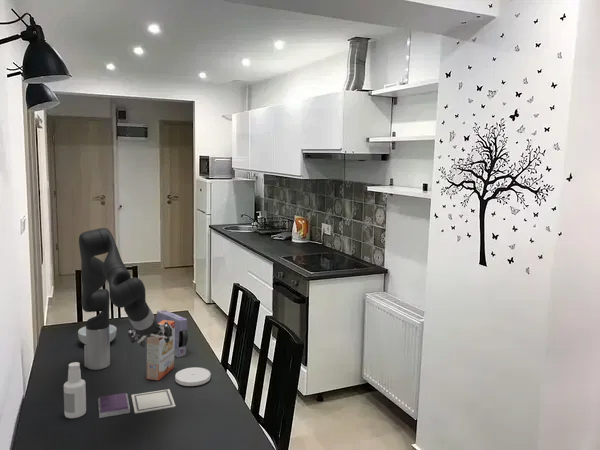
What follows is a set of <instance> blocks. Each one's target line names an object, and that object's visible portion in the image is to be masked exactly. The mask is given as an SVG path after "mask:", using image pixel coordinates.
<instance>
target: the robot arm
mask: <svg viewBox="0 0 600 450" xmlns="http://www.w3.org/2000/svg"><path fill="white" fill-rule="evenodd" d="M78 246H79V252H80V253H79V254H80V260H81V261H80V262H81V263H80V266H81V271H80V273H81V274H80V275H81V276H80V277H81V278H80V279H81V284H82V289H81V307H82V310H83V311H84V312H85V313H92V312H93V313H95V312H99V313H98V314H97V315H95V316H93V317H90V318H88V319H87V320H86V321H85V326H86V344H84V345H83V347H84V348H83V349H84V354H83V356H84V357H83V358H84V367H85V368H87V369H88V370H93V371H95V370H102V369H105V368H108V367H109V366H110V365H111V344H110V343H111V341H110V329H109V325H110V302H111V303H112V304H113V305H114V306H115V307H117V308H121V309H124V312H125V314H126V316H127V317H128V319H129V322H130V324H131V326H132V327H133V329H132V328H128V331H127V336H128V338H129V340H130V343H132V344H135V342H137V343H138V345H139V346H140V347H142V348H145V347H146V342H145V338H146V339H147V338H148V337H154V336H156V337H159V338H160V337H162V338H164V340H165V342H166V343H168V341H170V337H171V336H172V329H171V327H170V326H169V324H168V323H167V322H165V323H164V325H159V324H158V323H157V318H156V317H155V315H154V313H153V311H152V309H151V308H150V306H149V305H148V303H147V301H146V297H147V296H146V295H147V294H146V287H145V285H144V282H143V281H142V280H141V279H140V278H138V277H132V275H131V274H130V271H129V270H128V268H127V267H126V265H125V263H124V262H123V260H122V258H121V255H120V251H119V248H118V246H117V244H116V241H115V238H114V236H113V234H112V232H111V230H109V229H108V228H106V227H99V228H96V229H91V230H87V231H83V232H81V233H80V234H79V236H78ZM105 254H106V257H105V259H104V261H103V260H101V259H100V258H98V257H97V256H101V255H105ZM106 282H108V285H109V289H107V288H102V287H103V286H104V285H105V283H106ZM110 300H111V301H110ZM158 333H159V334H158ZM163 333H164V335H163ZM136 335H137V336H136Z"/></svg>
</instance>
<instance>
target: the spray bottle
mask: <svg viewBox="0 0 600 450" xmlns="http://www.w3.org/2000/svg"><path fill="white" fill-rule="evenodd" d="M80 364H81V363H80V362H77V361H75V362H70V363H69V364H68V371H67V373H68V374H67V380H66V382H65V383H63V403H64V404H63V406H64V407H63V409H64V410H63V413H64V416H65V418H67V419H77V418H80V417H82V416H84V415H85V414H86V412H87V392H86V389H87V388H86V387H87V386H86V380H85V379H82V376H81V375H82V374H81V372H82V371H81V365H80Z"/></svg>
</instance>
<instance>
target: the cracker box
mask: <svg viewBox="0 0 600 450" xmlns="http://www.w3.org/2000/svg"><path fill="white" fill-rule="evenodd" d="M165 322H167V323H168V324H169V326H170V327H171V329H172V336H171V337H170V341H168V343H166V342H165V340H164V338H162V337H160V338H159V337H156V336H154V337H148V338H146V380H150V381H151V380H152V381H158V382H159V381H160V380H162V378H164V377H165V376H166V375H167V374H169V372H171V371H172V370H173V369H174V368H175V356H174V348H175V321H168V320H162V321H161V322H159V323H158V324H159V325H164V323H165ZM158 334H159V333H158ZM163 335H164V333H163Z"/></svg>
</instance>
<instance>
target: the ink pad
mask: <svg viewBox="0 0 600 450" xmlns="http://www.w3.org/2000/svg"><path fill="white" fill-rule="evenodd" d="M128 395H129V394H128V393H126V392H123V393H115V394H110V395H103V396H99V397H98V398H97V402H98V404H97V405H98V418H99V419H102V418H103V419H104V418H108V417H113V416H114V417H115V416H119V415H121V416H122V415H125V414H131V406H130V402H129V396H128Z"/></svg>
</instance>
